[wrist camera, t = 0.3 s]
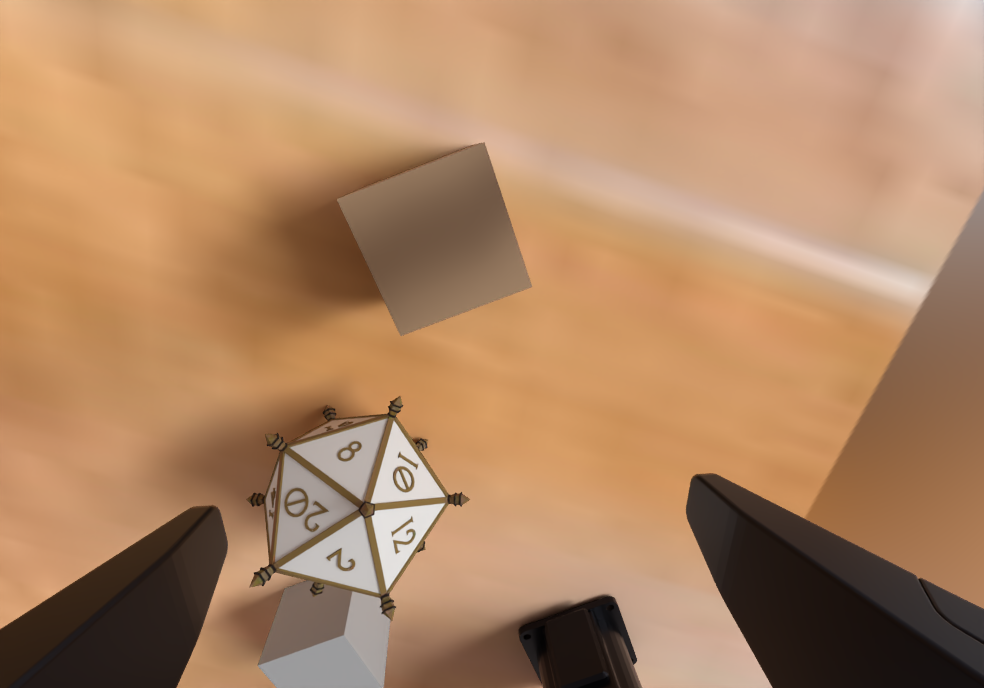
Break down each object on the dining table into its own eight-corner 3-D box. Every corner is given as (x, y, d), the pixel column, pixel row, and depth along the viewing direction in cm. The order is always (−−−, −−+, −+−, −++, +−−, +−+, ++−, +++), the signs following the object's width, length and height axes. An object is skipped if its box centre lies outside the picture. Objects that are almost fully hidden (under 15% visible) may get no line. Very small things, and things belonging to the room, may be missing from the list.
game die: (347, 426, 28) (167, 543, 20) (394, 325, 23) (176, 431, 15) (457, 538, 26) (308, 713, 18) (534, 457, 21) (373, 653, 13)
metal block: (511, 258, 21) (532, 286, 17) (408, 296, 22) (400, 336, 17) (473, 144, 19) (484, 142, 15) (360, 188, 20) (336, 199, 15)
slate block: (391, 611, 29) (383, 689, 24) (322, 636, 29) (302, 717, 25) (358, 560, 27) (344, 635, 23) (285, 587, 27) (257, 665, 23)
